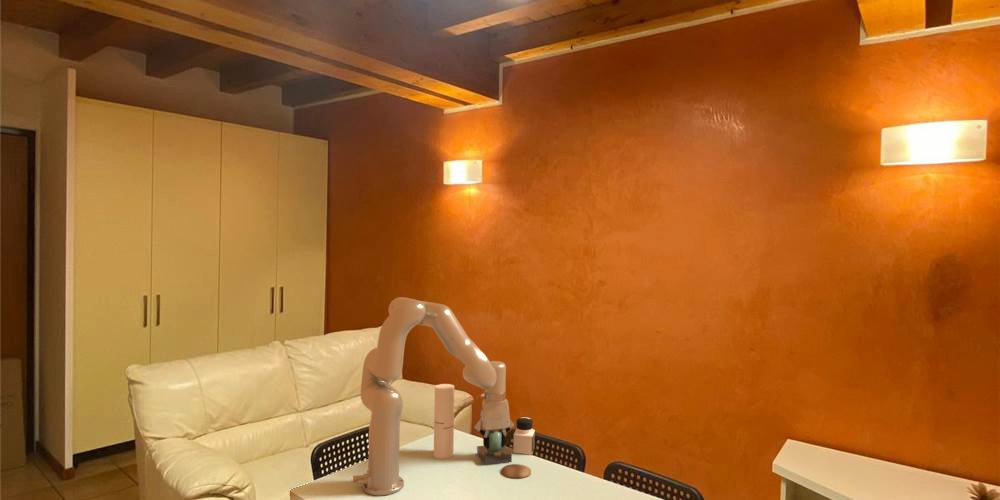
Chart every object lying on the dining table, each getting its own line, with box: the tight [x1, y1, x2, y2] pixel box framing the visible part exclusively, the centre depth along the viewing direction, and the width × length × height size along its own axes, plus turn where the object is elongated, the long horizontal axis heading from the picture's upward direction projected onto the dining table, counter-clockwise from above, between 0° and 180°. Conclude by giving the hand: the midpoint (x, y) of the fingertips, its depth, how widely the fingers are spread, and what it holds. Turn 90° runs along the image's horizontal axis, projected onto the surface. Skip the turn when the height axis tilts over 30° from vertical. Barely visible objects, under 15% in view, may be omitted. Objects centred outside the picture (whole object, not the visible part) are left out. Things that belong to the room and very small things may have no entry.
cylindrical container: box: [433, 383, 455, 460], centre depth 184 cm, size 7×7×25 cm
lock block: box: [476, 444, 513, 466], centre depth 182 cm, size 10×10×4 cm
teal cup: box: [487, 429, 502, 453], centre depth 182 cm, size 5×5×7 cm
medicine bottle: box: [512, 416, 536, 456], centre depth 189 cm, size 7×7×12 cm
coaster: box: [501, 463, 532, 480], centre depth 170 cm, size 10×10×1 cm
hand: (494, 446), depth 182 cm, fingers closed on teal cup, 5 cm apart
